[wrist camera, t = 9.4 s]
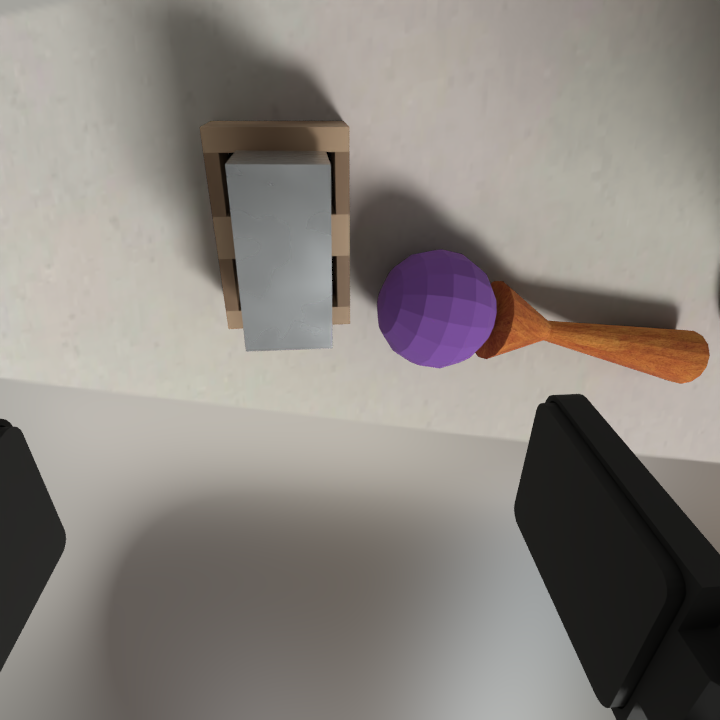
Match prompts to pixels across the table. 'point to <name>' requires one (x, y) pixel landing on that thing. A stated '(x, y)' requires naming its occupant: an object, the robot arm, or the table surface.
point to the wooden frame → (278, 137)
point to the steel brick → (282, 247)
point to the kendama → (509, 323)
